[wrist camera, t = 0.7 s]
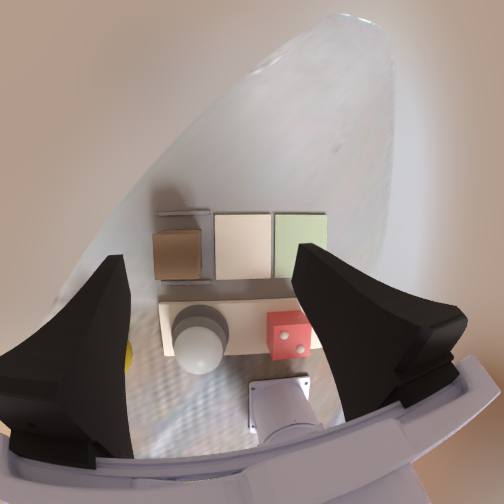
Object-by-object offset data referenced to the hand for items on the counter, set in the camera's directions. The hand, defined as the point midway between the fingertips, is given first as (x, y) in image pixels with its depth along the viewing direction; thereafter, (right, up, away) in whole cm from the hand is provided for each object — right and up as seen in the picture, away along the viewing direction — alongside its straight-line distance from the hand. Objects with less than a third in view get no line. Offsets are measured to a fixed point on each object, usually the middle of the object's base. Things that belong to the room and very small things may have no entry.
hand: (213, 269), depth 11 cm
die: (+5, -8, +21) cm, 23 cm away
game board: (+1, -3, +21) cm, 21 cm away
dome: (-4, -9, +17) cm, 20 cm away
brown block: (-6, +1, +19) cm, 20 cm away
